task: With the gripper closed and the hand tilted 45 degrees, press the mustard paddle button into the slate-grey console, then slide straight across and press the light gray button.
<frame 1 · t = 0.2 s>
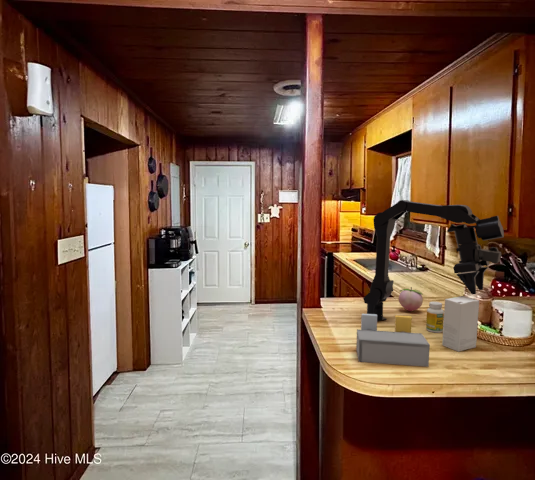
hand: (477, 292, 121), 15 cm above the worktop, tool pointing down, fingers open, 9 cm apart
light gray button: (370, 331, 114), point 5 cm above the worktop, slide at 0.0 cm
mustard button: (405, 333, 112), point 5 cm above the worktop, slide at 0.0 cm
decorative fruit: (410, 311, 155), on the worktop
supplement bottle: (434, 331, 131), on the worktop
console: (388, 351, 112), on the worktop
skincare box: (458, 347, 116), on the worktop
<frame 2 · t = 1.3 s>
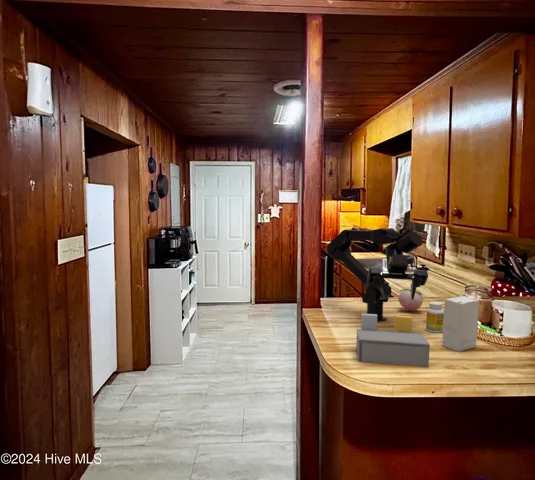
hand: (399, 298, 124), 12 cm above the worktop, tool tilted 45°, fingers open, 8 cm apart
nothing on the worktop moved.
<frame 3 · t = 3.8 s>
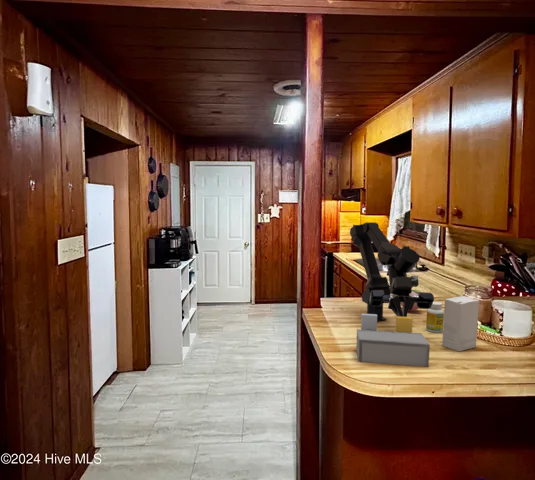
hand: (403, 323, 116), 7 cm above the worktop, tool tilted 45°, fingers closed, pressing on mustard button
mustard button: (406, 334, 111), point 5 cm above the worktop, slide at 0.9 cm, touching gripper
everything else where it was.
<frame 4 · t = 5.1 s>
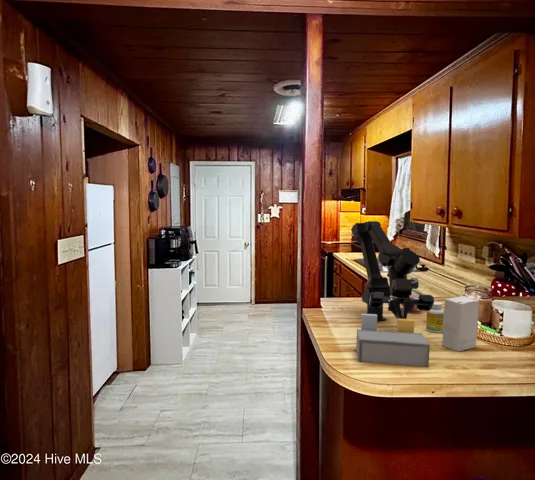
hand: (403, 325, 116), 6 cm above the worktop, tool tilted 45°, fingers closed
mustard button: (407, 337, 109), point 5 cm above the worktop, slide at 3.3 cm
everything else where it was.
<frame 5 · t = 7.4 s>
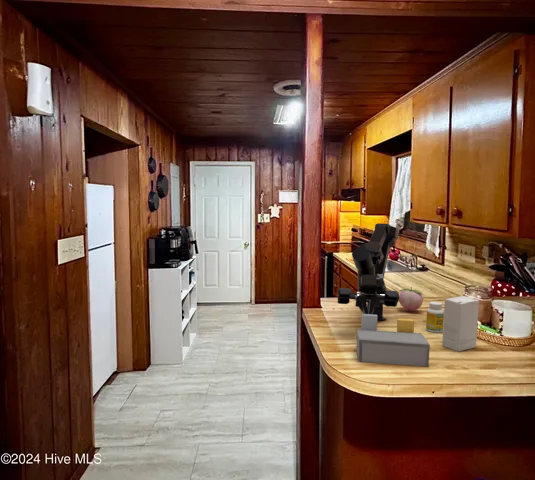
hand: (368, 320, 118), 7 cm above the worktop, tool tilted 45°, fingers closed, pressing on light gray button
light gray button: (370, 332, 113), point 5 cm above the worktop, slide at 0.3 cm, touching gripper
everything else where it was.
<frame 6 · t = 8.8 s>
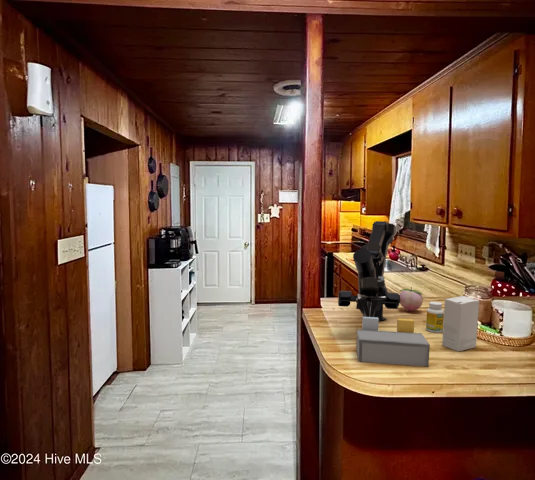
hand: (369, 323, 117), 6 cm above the worktop, tool tilted 45°, fingers closed
light gray button: (371, 335, 111), point 5 cm above the worktop, slide at 3.3 cm
everything else where it was.
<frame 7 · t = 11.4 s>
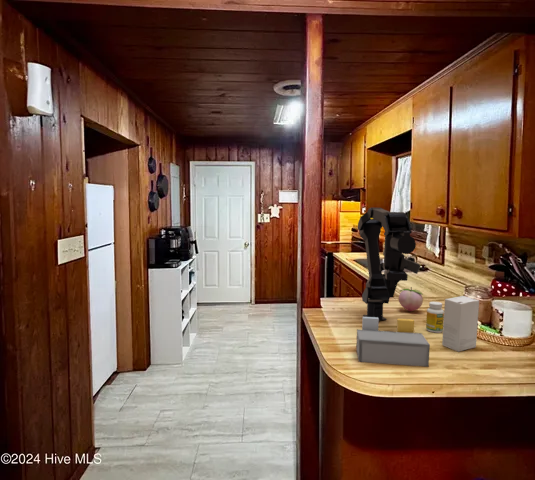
hand: (391, 296, 128), 12 cm above the worktop, tool pointing down, fingers closed
nothing on the worktop moved.
at the end: mustard button slide at 3.3 cm; light gray button slide at 3.3 cm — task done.
